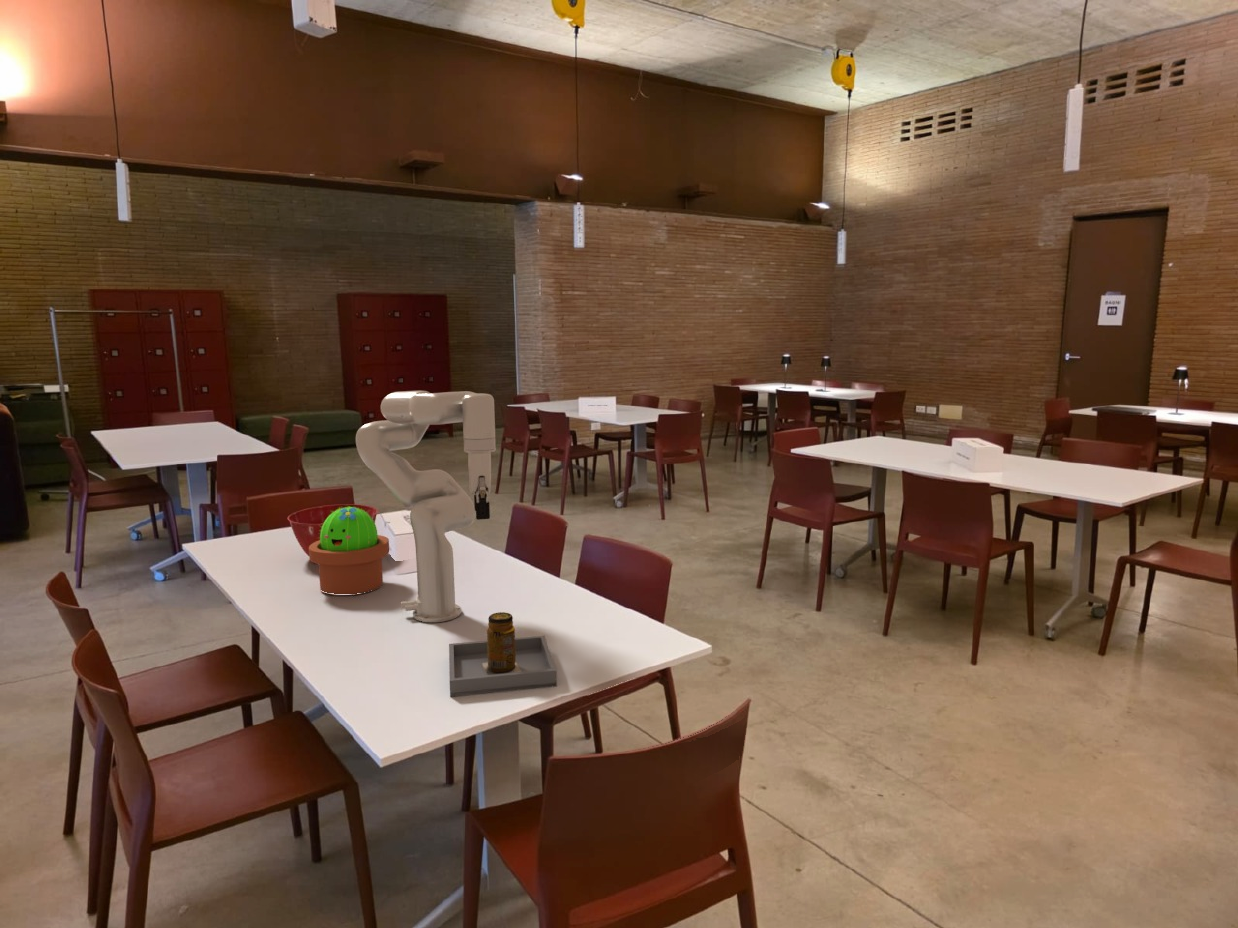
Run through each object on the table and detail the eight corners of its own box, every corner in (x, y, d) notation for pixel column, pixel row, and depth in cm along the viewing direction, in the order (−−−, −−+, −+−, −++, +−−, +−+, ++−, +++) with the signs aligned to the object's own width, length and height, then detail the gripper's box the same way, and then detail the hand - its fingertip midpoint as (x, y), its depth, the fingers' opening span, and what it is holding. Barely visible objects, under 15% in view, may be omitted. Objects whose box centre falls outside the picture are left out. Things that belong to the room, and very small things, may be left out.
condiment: (513, 659, 174) (512, 608, 172) (522, 674, 166) (521, 621, 164) (481, 664, 172) (480, 612, 170) (489, 679, 164) (487, 626, 162)
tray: (450, 696, 158) (449, 680, 157) (449, 658, 177) (449, 643, 176) (556, 685, 162) (556, 670, 162) (544, 649, 182) (544, 635, 181)
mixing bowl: (363, 569, 246) (361, 522, 244) (275, 569, 247) (271, 522, 244) (390, 546, 274) (388, 504, 272) (311, 546, 275) (308, 504, 272)
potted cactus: (334, 575, 240) (329, 497, 237) (401, 577, 238) (397, 498, 234) (298, 598, 219) (291, 512, 215) (372, 600, 217) (367, 514, 213)
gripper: (463, 441, 192) (465, 508, 195) (464, 450, 176) (467, 523, 178) (493, 440, 194) (495, 506, 197) (497, 449, 177) (500, 521, 180)
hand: (482, 514), depth 187 cm, fingers open, 9 cm apart
